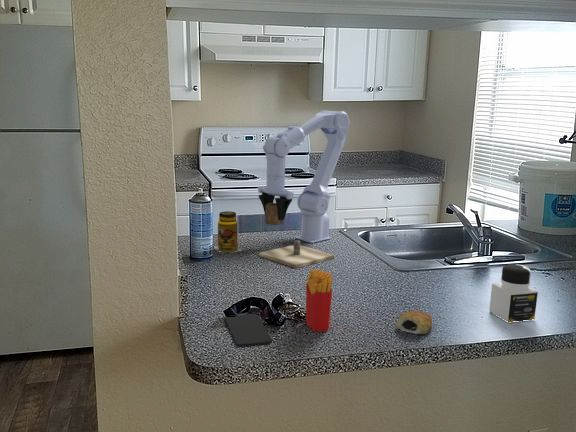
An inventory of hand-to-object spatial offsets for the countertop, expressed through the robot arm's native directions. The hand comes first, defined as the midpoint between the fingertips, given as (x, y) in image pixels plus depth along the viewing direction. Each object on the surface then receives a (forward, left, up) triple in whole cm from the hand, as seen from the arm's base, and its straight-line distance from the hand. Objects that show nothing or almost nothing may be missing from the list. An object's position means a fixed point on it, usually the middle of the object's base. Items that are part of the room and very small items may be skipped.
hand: (274, 218), depth 182 cm
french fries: (+36, +53, -10) cm, 65 cm away
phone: (+49, +45, -10) cm, 67 cm away
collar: (0, 0, -2) cm, 2 cm away
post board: (+3, +13, -9) cm, 16 cm away
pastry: (+20, +67, -10) cm, 71 cm away
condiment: (+14, -7, -10) cm, 18 cm away
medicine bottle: (-2, +78, -10) cm, 79 cm away
